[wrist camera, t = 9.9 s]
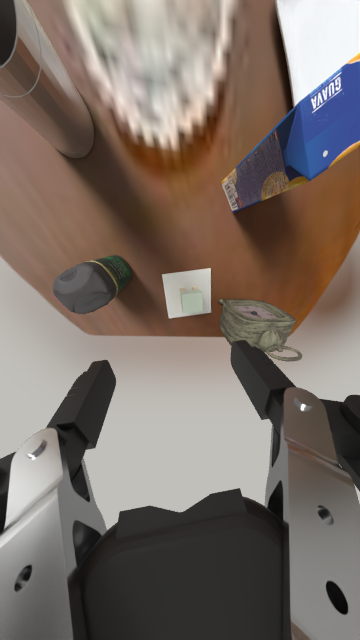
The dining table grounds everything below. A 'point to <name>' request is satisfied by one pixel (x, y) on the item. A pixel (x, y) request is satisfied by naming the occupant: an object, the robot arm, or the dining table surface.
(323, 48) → the salad plate
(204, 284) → the mat
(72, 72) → the dining table surface
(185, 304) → the cube with two prongs
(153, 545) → the robot arm
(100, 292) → the coffee jar
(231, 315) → the tabletop clock
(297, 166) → the beverage box
